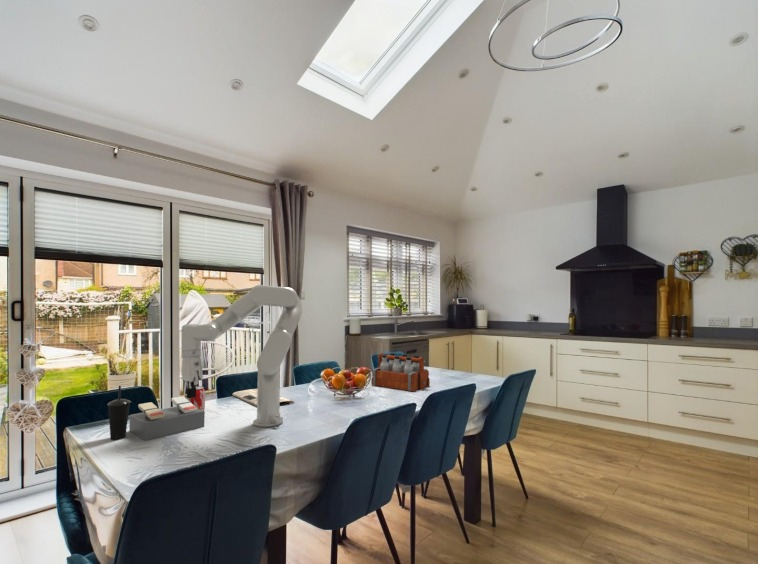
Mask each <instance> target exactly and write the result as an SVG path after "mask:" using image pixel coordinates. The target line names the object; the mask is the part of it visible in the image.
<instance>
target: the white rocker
mask: <svg viewBox="0 0 758 564" xmlns="http://www.w3.org/2000/svg"><path fill="white" fill-rule="evenodd" d="M171 402H172V403H173V404H174V405H175V406H177V407H178V408H179V409H181V410H182V411H183V412H184V413H190V412H195V411H197V408H196V407H195V406H194V405H193V404H192V403H191V402H189V399H188V398H187V397H185V396H184V395H182V396H175V397H171Z"/></svg>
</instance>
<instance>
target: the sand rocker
mask: <svg viewBox="0 0 758 564" xmlns="http://www.w3.org/2000/svg"><path fill="white" fill-rule="evenodd" d="M137 407H138V409H139V410H140V411H142V412H141V413H144V414H145V415H146V416H147V417H148V418H149V419H150V420H153V419H158V418H162V417H164V416H165V414H164V413H163V412H162V411H161V410H160V409H161V408H159V407H158V406H157V405H155V404H154V403H153V402H152V401H151V402H144V403H139V404H138V405H137Z"/></svg>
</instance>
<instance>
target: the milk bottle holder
mask: <svg viewBox="0 0 758 564" xmlns="http://www.w3.org/2000/svg"><path fill="white" fill-rule="evenodd" d="M377 358H378V366H377V367H375V368H373V369H372V371H371V376H372V377H371V379H370V380H371V382H370V383H371V386H373V385H374V387H377V386H378V387H383V388H390V389H396V390H403V391H408V392H415V391H417V390H423V389H425V388H426V387H429V386H430V380H431V379H430V378H429V376H430V371H429V370H428V368H425V363H426V360H425V358H424V357H423V356H420V357H419V355H414V356H413V357H409V356H408V354H402V356H401V355H395V353H390V354H384V353H382V352H379V353H378V355H377ZM388 360H389V361H388ZM400 362H401V363H400Z"/></svg>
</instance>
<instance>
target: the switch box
mask: <svg viewBox="0 0 758 564" xmlns="http://www.w3.org/2000/svg"><path fill="white" fill-rule="evenodd" d="M159 409H160V410H161V411H162V412H163V413H164V414H165V416H164V417H162V418H158V419H153V420H150V419H149V418H148V417H147V416H146V415H145V414H144V413H143V412H138V413H133V414H130V415H129V425H128V426H129V430H128V431H129V432H130V433H132V434H133V435H135V436H137V437H138V438H139V439H141V440H143V441H144V442H145V441H150V440H154V439H159V438H163V437H167V436H170V435H175V434H180V433H183V432H188V431H192V430H197V429H200V428H205V417H206V416H205V415H206V413H205V410H204V411H203V410H200V409H198V408H197V411H195V412H190V413H184V412H183V411H182V410H181V409H179V408H178V407H177V406H176V405H175V406H170V407H164V408H159Z"/></svg>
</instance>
